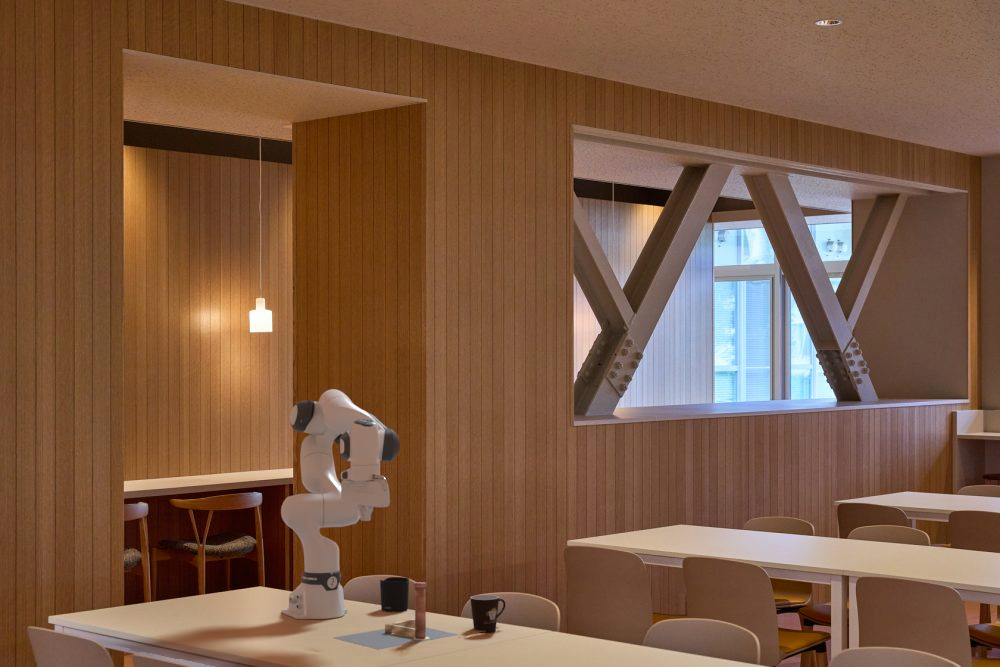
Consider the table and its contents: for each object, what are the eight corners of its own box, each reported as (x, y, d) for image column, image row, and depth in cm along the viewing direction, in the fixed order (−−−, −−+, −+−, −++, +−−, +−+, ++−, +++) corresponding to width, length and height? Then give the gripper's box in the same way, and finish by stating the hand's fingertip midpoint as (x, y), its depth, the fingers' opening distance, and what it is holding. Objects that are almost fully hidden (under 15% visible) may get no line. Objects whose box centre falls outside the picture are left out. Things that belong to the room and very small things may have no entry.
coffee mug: (474, 634, 366) (474, 600, 366) (467, 629, 374) (467, 595, 375) (512, 632, 369) (512, 598, 369) (504, 627, 377) (504, 593, 378)
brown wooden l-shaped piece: (389, 633, 363) (389, 580, 363) (398, 631, 365) (398, 578, 366) (420, 639, 354) (420, 584, 355) (429, 637, 357) (429, 582, 357)
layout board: (332, 640, 359) (332, 637, 359) (411, 626, 378) (411, 623, 378) (378, 652, 343) (378, 648, 343) (458, 637, 362) (458, 634, 362)
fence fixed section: (389, 634, 363) (389, 625, 364) (383, 633, 365) (383, 624, 365) (424, 626, 375) (424, 618, 375) (418, 625, 376) (418, 617, 377)
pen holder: (376, 608, 410) (376, 578, 410) (403, 606, 414) (403, 576, 414) (385, 613, 402) (385, 582, 402) (413, 611, 405) (413, 580, 406)
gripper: (394, 475, 367) (395, 522, 366) (354, 471, 382) (354, 517, 382) (377, 476, 363) (377, 524, 362) (337, 473, 378) (337, 518, 377)
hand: (365, 520), depth 372 cm, fingers closed
